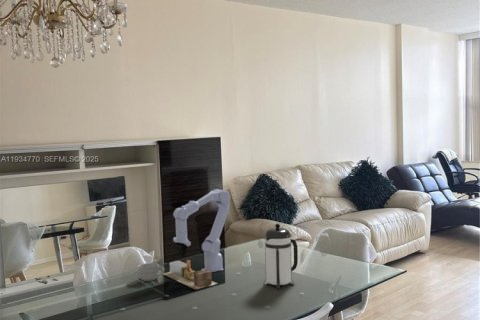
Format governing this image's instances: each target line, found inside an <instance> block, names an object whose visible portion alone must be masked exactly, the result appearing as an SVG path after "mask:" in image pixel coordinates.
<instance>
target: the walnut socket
mask: <svg viewBox="0 0 480 320" xmlns="http://www.w3.org/2000/svg"><path fill="white" fill-rule="evenodd" d="M203 269H204V270H202V269H201V270H196V272H194V285H195V286H197V287H199V288H200V287H203V288H205V287H204V286H207V285H211V284H212V281H213V280H212V279H213V278H212V272H211V271H209V270H207V269H205V268H203ZM211 286H212V285H211ZM207 287H208V286H207ZM200 289H201V288H200Z"/></svg>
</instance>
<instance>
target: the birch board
mask: <svg viewBox="0 0 480 320" xmlns="http://www.w3.org/2000/svg"><path fill="white" fill-rule="evenodd" d="M162 275H164V276H166V277H168V278H170V279H172V280H175V281H176V282H179V283H181V284H183V285H185V286H188V287H189V288H191V289H194V290H199V289H204V288H206V287H210V286H215V285H218V282H215V281H213V280H212V284H211V285H207V286H204V287H200V288H199V287H197V286H195V285H194V278H192V279H191V278H189V277H184V278H180V277H178V276H176V275H173V274H171V273H170V271H169V272H164V273H163V274H162Z"/></svg>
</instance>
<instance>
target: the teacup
mask: <svg viewBox="0 0 480 320" xmlns="http://www.w3.org/2000/svg"><path fill="white" fill-rule="evenodd" d="M137 268H138V269H137V270H138V271H137V272H138V273H137V274H138V277H139V279H140V280H141V281H142V282H143V281H144V282H153V281H156V279H158V278H160V277H161V275H164V274H163V273H165V267H164V266H162V265H160V264H159V263H157V262H148V263H147V262H145V263H142V264H141V263H140V264H139V265H137ZM160 269H161V270H162V271H161V272H160Z"/></svg>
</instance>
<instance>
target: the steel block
mask: <svg viewBox="0 0 480 320" xmlns="http://www.w3.org/2000/svg"><path fill="white" fill-rule="evenodd" d="M185 268H187V262H183V261H181V260H174V261H171V262H169V272H170V273H171V274H173V275H176V276H178V277H180V278H184V277H186V276H184V275H183V269H185Z"/></svg>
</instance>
